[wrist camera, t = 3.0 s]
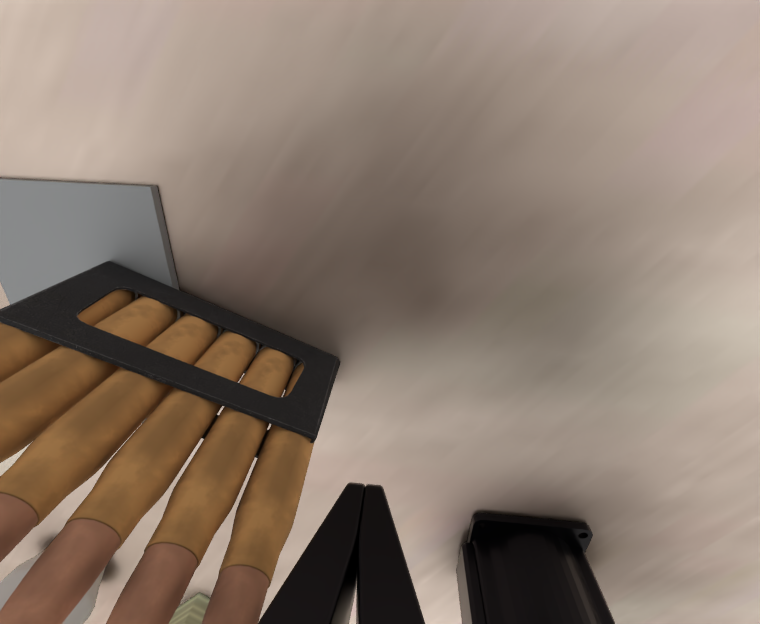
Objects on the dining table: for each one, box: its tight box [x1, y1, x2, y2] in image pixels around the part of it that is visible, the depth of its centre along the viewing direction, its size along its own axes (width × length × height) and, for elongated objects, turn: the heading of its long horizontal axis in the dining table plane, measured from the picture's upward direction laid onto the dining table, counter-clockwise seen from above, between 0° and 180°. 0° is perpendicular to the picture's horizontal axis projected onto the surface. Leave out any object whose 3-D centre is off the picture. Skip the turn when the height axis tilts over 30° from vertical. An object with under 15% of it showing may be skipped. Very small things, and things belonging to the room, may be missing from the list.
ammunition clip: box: [0, 261, 340, 624], centre depth 10 cm, size 11×2×12 cm, turn 64°
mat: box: [0, 178, 179, 423], centre depth 16 cm, size 8×12×1 cm, turn 178°
